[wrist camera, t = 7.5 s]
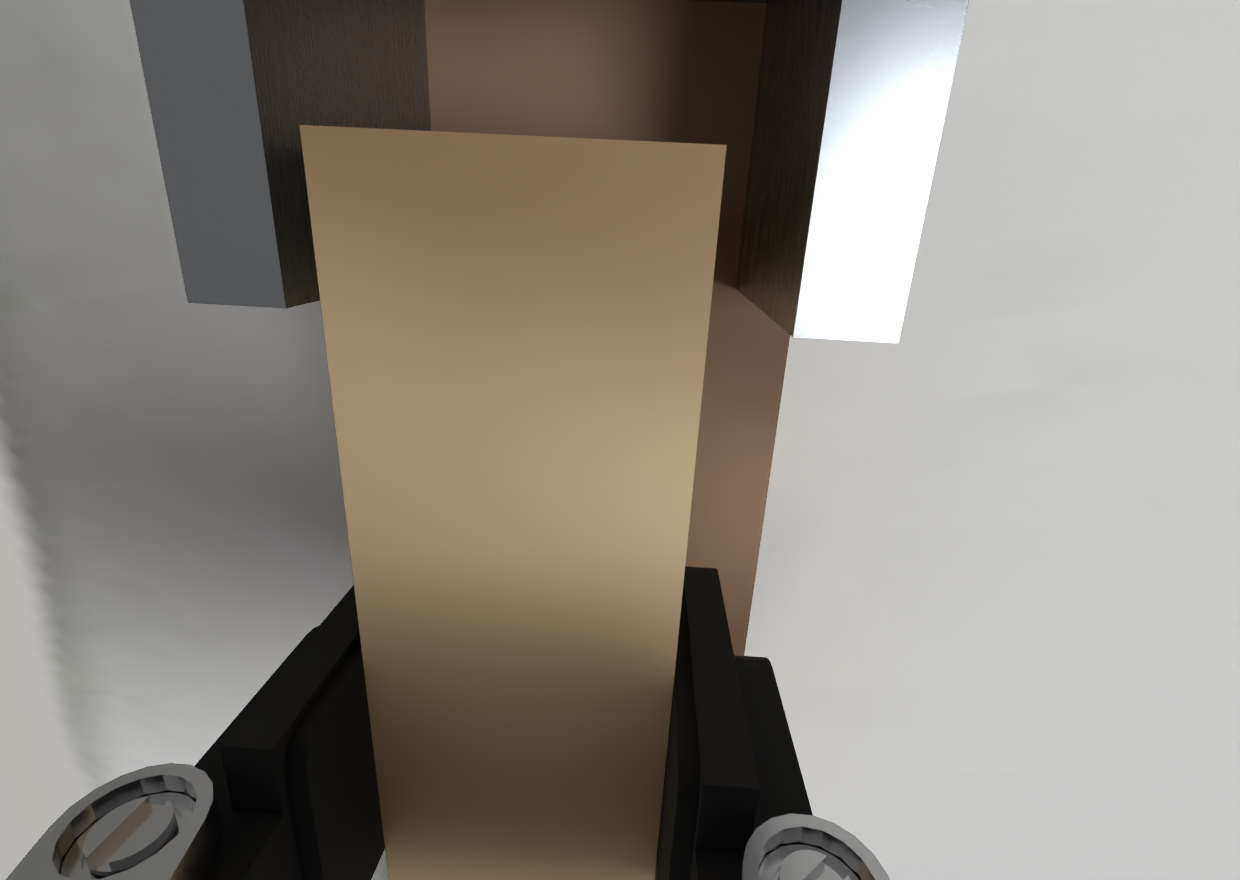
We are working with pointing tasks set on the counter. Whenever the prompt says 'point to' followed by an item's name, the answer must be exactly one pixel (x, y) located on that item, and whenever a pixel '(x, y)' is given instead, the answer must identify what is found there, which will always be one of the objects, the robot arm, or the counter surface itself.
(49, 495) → the counter surface
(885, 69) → the grey end holder
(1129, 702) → the counter surface
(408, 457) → the slat
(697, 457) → the base board
